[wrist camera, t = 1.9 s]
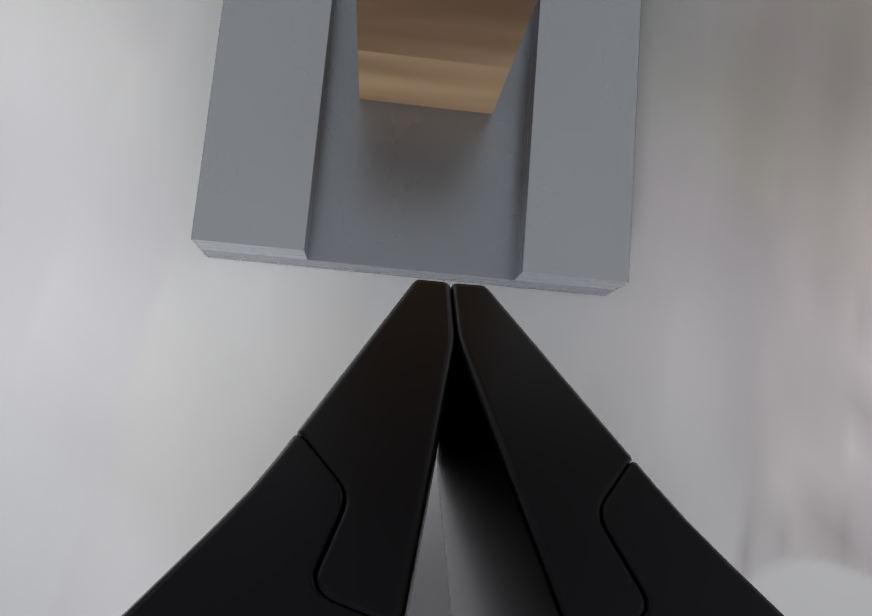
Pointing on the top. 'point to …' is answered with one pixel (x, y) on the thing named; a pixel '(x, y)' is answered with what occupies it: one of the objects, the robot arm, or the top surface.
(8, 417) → the top surface
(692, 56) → the top surface
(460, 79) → the brown block
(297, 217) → the slot bed
